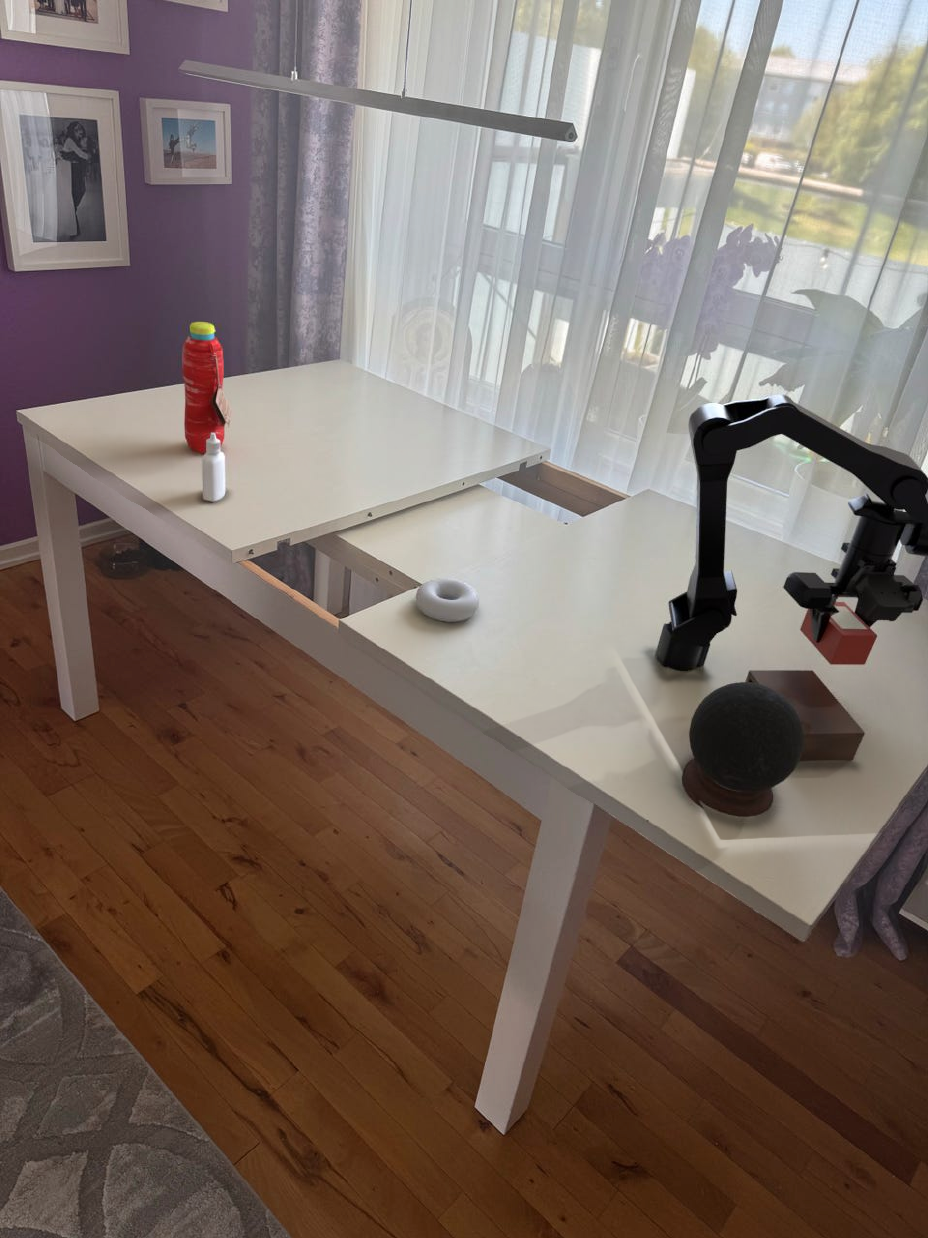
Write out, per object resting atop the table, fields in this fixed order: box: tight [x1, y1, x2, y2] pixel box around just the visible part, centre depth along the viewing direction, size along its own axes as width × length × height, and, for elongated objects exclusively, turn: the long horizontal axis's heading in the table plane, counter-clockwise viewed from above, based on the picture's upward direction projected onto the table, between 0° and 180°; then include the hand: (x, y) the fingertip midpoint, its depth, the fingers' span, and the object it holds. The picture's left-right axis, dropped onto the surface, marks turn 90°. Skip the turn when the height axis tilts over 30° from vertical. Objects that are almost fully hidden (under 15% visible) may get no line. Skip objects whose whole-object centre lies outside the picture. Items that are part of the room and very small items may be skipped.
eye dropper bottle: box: [201, 433, 226, 502], centre depth 162 cm, size 4×6×12 cm
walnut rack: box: [744, 669, 866, 762], centre depth 124 cm, size 10×14×5 cm
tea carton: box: [799, 601, 878, 666], centre depth 131 cm, size 6×9×5 cm, turn 10°
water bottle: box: [181, 321, 233, 455], centre depth 176 cm, size 12×8×25 cm, turn 46°
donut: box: [414, 577, 480, 623], centre depth 141 cm, size 10×4×10 cm
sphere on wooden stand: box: [681, 681, 804, 818], centre depth 110 cm, size 13×13×15 cm
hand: (833, 641), depth 132 cm, fingers closed on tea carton, 5 cm apart
